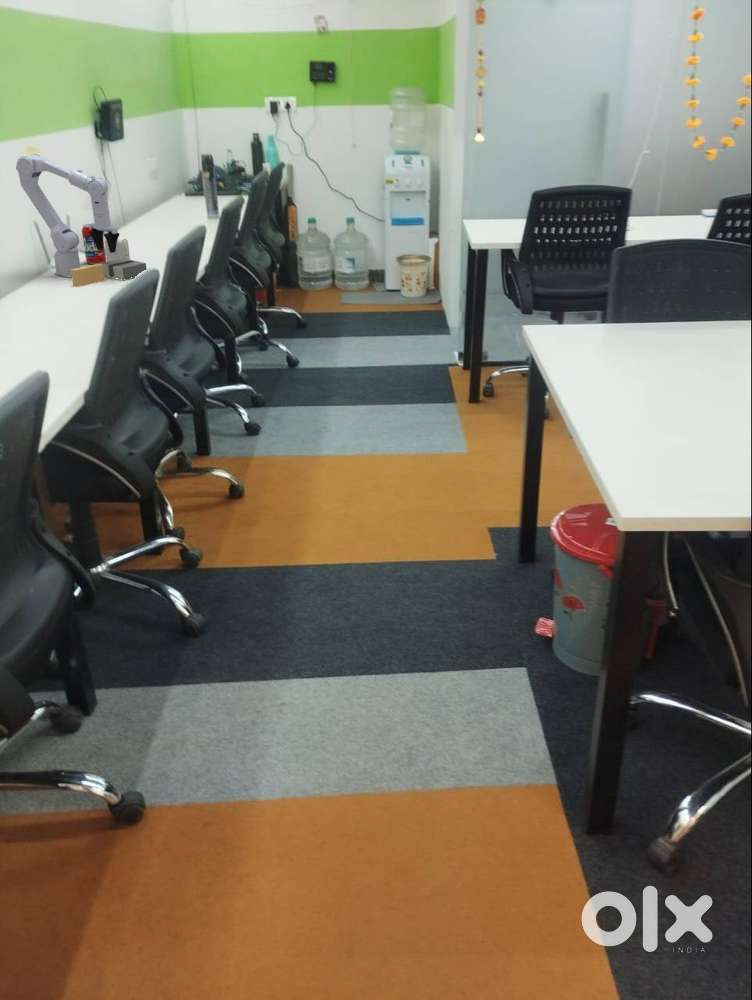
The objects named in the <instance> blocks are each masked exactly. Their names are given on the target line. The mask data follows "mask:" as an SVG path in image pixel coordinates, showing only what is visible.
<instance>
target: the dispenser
mask: <svg viewBox="0 0 752 1000" xmlns="http://www.w3.org/2000/svg"><path fill="white" fill-rule="evenodd" d="M99 264H101V265H103V272H104V277H106V276H112V277H114V279H115V278H118V279H122V280H123V281H125V280H124V279H128V280H130V279H129V278H131V277H132V279H135V278H134V277H135V276H137V275H138V274H139V273H141V272H142V271H144V270H146V269H147V263H146V262H141V261H137V260H133V259H130V260H129V259H125V258H123V259H118V260H113V261H108V262H107V261H106V262H103V263H99ZM147 270H148V269H147ZM113 275H114V276H113ZM118 279H117V280H118ZM122 280H121V281H122Z"/></svg>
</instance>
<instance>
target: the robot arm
mask: <svg viewBox="0 0 752 1000" xmlns="http://www.w3.org/2000/svg"><path fill="white" fill-rule="evenodd" d="M15 165H16V166H15V169H16V171H17V173H18V177H19V182H20V187H21V189H23V191H24V192H25V194H26V195H27V197H28V198H29V200H30V201H31V203H32V204H33V206H34V207H35V209H36V210H37V212H38V214H39V215H40V216H41V218H42V219H43V221H44V222H45V223H46V226H47V227H48V228H49V230H50V235H49V236H50V238H51V240H52V243H53V247H54V248H55V249H56V251H55V252H54V254H53V259H54V264H55V270H56V272H54V275H58V276H62V277H65V278H72V275H71V269H75V268H80V267H81V262H80V261H81V260H80V256H79V254H80V253H79V249H78V246H79V244H80V237H79V235H78V234H77V232H75V231H74V230H73V229H71V228H70V226H69V225H68V224H66V223H64V222H63V220H62V219H61V218H60V216H59V214H58V213H57V211H56V209H55V208H54V207H53V205H52V204H51V201H49V199H48V197H47V196H46V195H45V193H44V192H43V190H42V189H41V187H40V185H39V179H40V176H41V174H42V173H43V172H49V173H51V174H53V175H56V176H58V177H61V178H63V179H66V180H68V182H69V184H70V185H71V186H74V187H76V188H78V189H81V190H83V191H85V192H87V193H88V195H89V196H90V199H91V208H92V214H93V223H88V224H89V227H90V229H92V230H91V231H89V234H90V235H91V236H92V238H93V240H94V242H95V245H96V247H97V249H98V250H102V249H103V239H105V238H106V240H107V243H108V247H109V251H110V253H113V252H116V244H117V240H118V237H119V236H120V232H119V231H118V230H119V228H118V227H116V226H114V224H112V223H111V216H110V210H109V200H108V195H107V193H108V191H109V185H108V182H107V181H106V180H105V179H103V178H102V177H97V178H95V175H90V174H88V173H85V172H83V170H82V169H81V168H78V169H76V168H75V169H73V170H71V169H69V168H66V167H65V166H63V165H61V164H59V163H56V162H55V161H53V160H50V159H49V158H47V157H45V156H44V155H40V154H37V153H32V154H28V155H22V156H20V157H18V158H17V161H16V164H15ZM104 232H106V233H104Z"/></svg>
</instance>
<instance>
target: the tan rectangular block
mask: <svg viewBox="0 0 752 1000" xmlns="http://www.w3.org/2000/svg"><path fill="white" fill-rule="evenodd" d="M71 275H72V277H71V280H72V285H73V287H82V286H86V285H90V284H95V282H96V283H99V282H98V281H100V282H103V281H102V280H105V281H106V279H105V276H104V272H103V265H101V264H95V265H92V264H89V265H86V266H82V267H81V266H80V268H75V269H71Z"/></svg>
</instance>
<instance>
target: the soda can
mask: <svg viewBox="0 0 752 1000" xmlns="http://www.w3.org/2000/svg"><path fill="white" fill-rule="evenodd" d="M89 224H90V223H87V224H86V223H85V224H83V225H82V229H81V234H82V235H81V236H82V241H83V248H84V255H85V260H86V261H85V262H86V263H87V264H89V265H95V264H99V263H103V262H107V257H106V249H105V241H104V240H105V238H103V249H102V250H98V249H97V247H96V245H95V242H94V240H93V238H92V236H91V235H90V234H89V231H91V230H92V229H90V227H89Z"/></svg>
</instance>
